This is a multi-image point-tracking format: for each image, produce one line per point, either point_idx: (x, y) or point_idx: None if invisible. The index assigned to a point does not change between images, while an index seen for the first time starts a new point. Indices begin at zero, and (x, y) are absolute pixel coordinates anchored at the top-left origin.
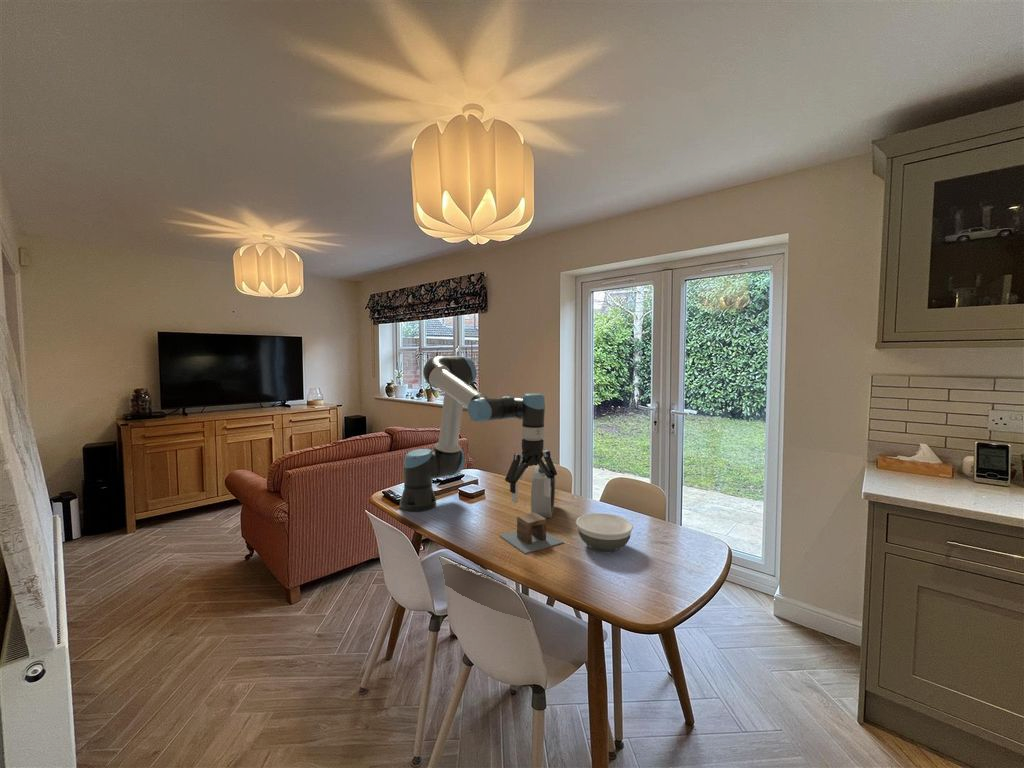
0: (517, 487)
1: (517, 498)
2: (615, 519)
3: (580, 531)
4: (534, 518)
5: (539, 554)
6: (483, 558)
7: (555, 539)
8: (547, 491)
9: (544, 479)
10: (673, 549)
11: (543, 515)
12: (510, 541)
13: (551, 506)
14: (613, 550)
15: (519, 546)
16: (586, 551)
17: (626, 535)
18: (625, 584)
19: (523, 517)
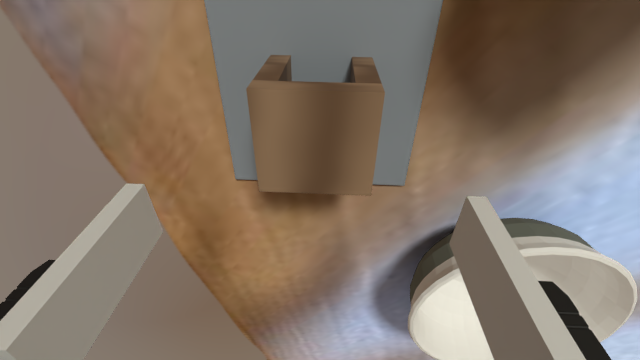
0: (79, 353)
1: (143, 258)
2: (612, 298)
3: (421, 281)
4: (320, 164)
5: (279, 198)
6: (88, 132)
7: (397, 156)
8: (465, 269)
9: (539, 344)
10: None
11: None
12: (224, 77)
13: None
14: (461, 290)
15: (239, 134)
16: (413, 247)
17: (491, 355)
18: (357, 343)
19: (273, 123)
